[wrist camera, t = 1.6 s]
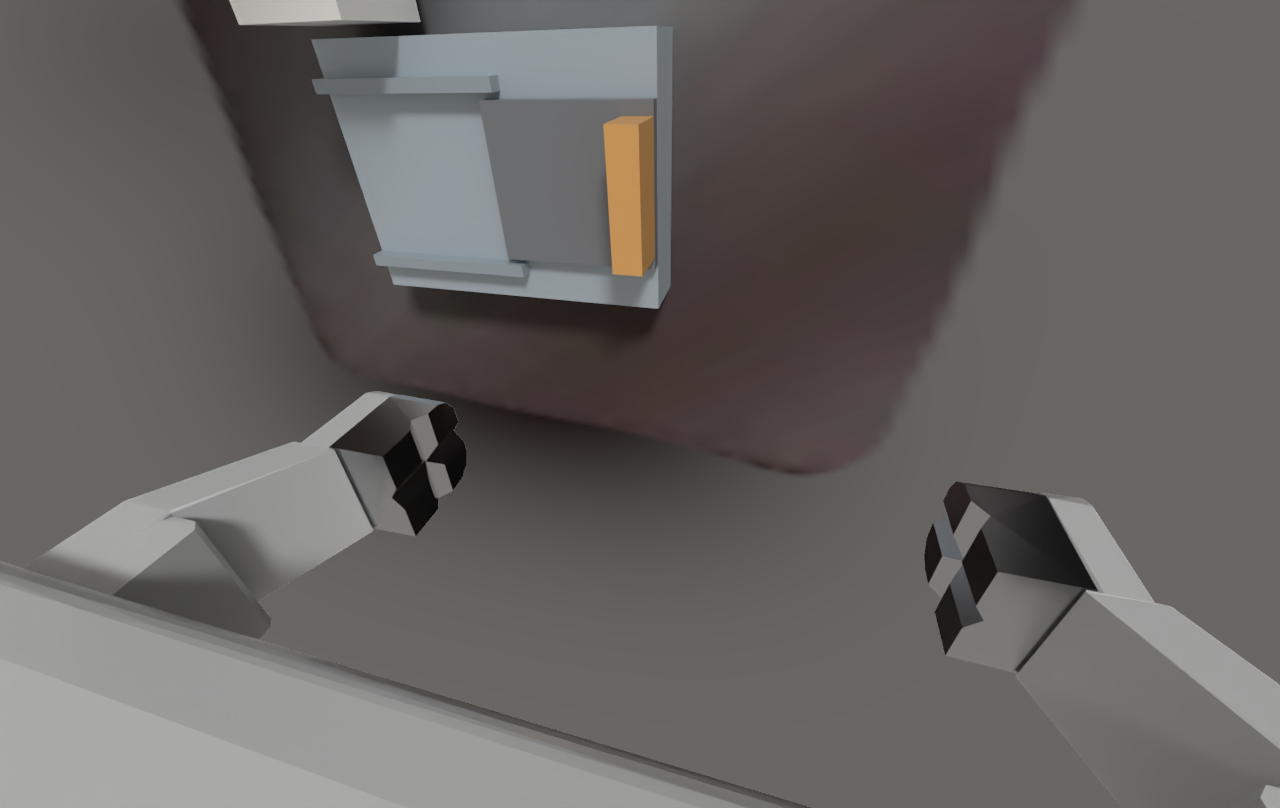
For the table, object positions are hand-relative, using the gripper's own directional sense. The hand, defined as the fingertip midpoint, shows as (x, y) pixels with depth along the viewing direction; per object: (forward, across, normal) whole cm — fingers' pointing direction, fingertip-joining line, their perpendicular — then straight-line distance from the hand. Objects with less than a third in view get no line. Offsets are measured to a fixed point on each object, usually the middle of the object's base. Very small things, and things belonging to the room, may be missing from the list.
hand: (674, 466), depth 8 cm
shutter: (+18, +8, -1) cm, 20 cm away
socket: (+21, +13, -1) cm, 24 cm away
